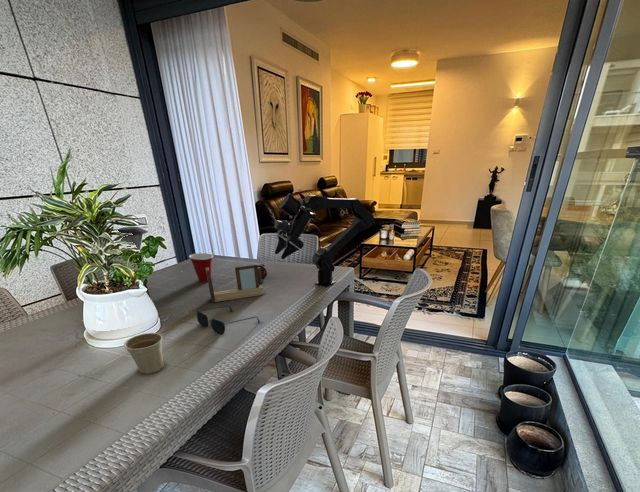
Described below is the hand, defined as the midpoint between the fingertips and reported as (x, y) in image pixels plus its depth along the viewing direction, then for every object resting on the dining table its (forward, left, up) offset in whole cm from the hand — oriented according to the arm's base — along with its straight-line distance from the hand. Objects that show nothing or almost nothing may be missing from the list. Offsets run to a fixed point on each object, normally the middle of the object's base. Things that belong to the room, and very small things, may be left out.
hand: (278, 256), depth 145 cm
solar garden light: (+44, -30, -15) cm, 55 cm away
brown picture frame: (+11, -7, -13) cm, 19 cm away
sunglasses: (+36, +9, -15) cm, 40 cm away
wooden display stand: (+16, -9, -15) cm, 23 cm away
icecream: (-6, -20, -15) cm, 26 cm away
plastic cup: (+10, -41, -15) cm, 45 cm away
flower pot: (+68, +16, -15) cm, 71 cm away
